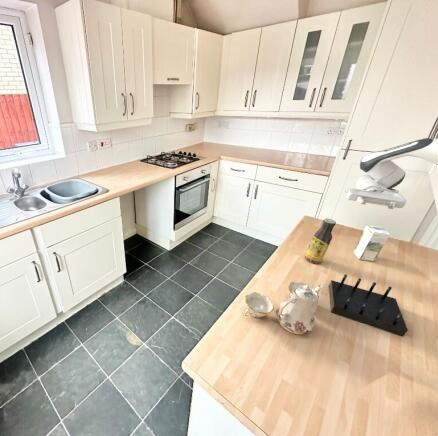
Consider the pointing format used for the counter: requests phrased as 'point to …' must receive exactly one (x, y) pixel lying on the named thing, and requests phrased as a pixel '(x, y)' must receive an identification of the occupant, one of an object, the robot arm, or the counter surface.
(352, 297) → the dish rack
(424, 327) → the counter surface
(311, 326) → the chinaware
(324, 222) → the sauce bottle
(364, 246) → the syrup box
